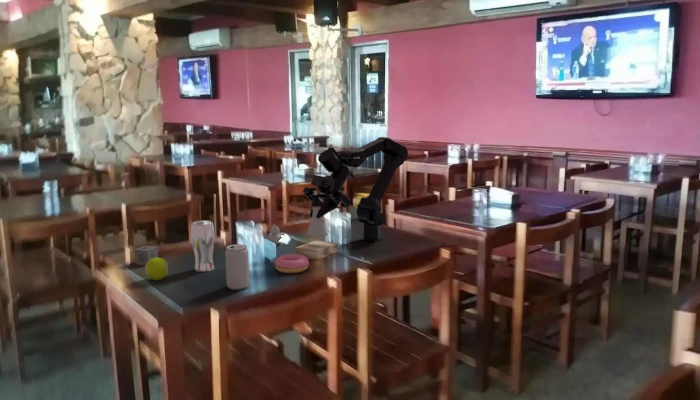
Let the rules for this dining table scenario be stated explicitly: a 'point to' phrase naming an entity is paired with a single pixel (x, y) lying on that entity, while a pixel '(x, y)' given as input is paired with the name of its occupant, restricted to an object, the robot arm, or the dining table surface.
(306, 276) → the dining table surface
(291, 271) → the doughnut
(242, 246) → the beverage can
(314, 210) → the flask
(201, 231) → the beer glass
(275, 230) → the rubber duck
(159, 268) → the tennis ball
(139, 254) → the dice cube
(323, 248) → the foundation block
